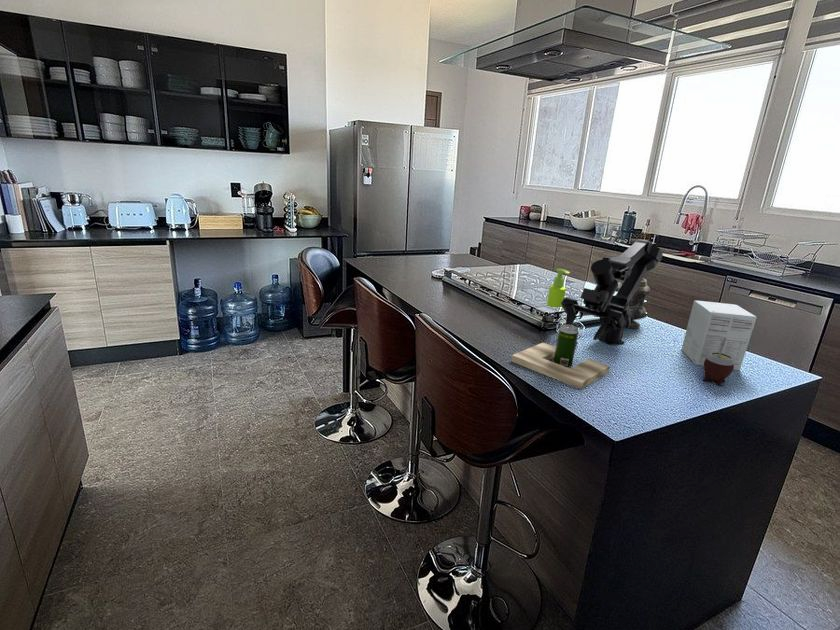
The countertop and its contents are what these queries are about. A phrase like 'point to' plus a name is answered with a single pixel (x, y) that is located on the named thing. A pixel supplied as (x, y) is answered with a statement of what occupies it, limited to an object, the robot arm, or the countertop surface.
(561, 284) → the soap dispenser
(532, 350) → the tan u-shaped bracket
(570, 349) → the green drink can
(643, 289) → the carved stone vase
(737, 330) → the supplement box
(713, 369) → the mate gourd
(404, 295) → the countertop surface
